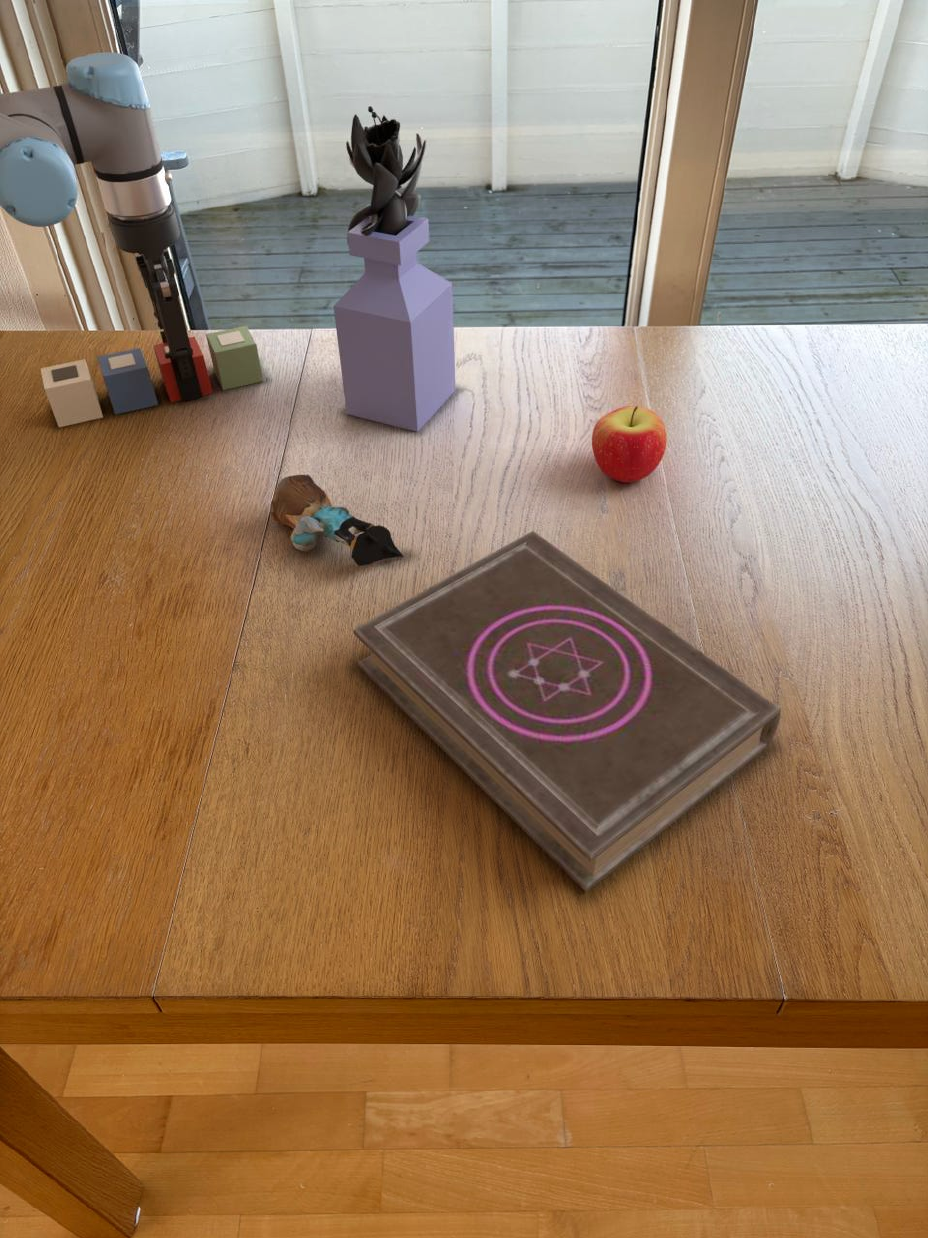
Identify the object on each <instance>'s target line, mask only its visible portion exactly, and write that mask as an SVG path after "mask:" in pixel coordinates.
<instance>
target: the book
mask: <svg viewBox="0 0 928 1238" xmlns="http://www.w3.org/2000/svg"><path fill="white" fill-rule="evenodd" d="M352 634H353V635H354V636H355V637H356V638H357V639H358V640H359V641H360V642H361V643H362V644H364V645H365V647H367V648H368V649H369V650H370V654H369V655H368V656H366V657H364V658H363V659H360V660H359V661H357V666H358V667H359V669H361V670H362V671H363V673H364V674H366V676H368V677H369V678H370V679H371V680H372V681H373V682H374V683H375V684H376V685H377V686H378V687H379V688H380V689H381V691H383V692H384V693H385V694H386V696H388V697H389V698H390V699H391V700H392V701H393V702H394V703H395V704H396V705H397V706H398V707H399V708H400V709H401V710H402V711H403V712H404V713H405V714H406V715H407V716H408V717H409V718H410V719H411V720H412V721H413V722H414V723H415V724H416V725H417V726H419V728H420V729H421V730H422V731H423V732H424V733H425V734H426V735H428V737H429V738H430V739H431V740H432V741H433V742H434V743H435V744H436V745H437V746H438V747H440V749H441V750H442V751H443V752H445V754H446V755H447V756H449V758H450V759H451V760H452V761H453V762H454V763H455V764H456V765H457V766H459V768H460V769H461V770H462V771H463V772H464V773H466V775H467V776H469V777H470V779H471V780H473V782H474V783H475V784H476V785H477V786H479V787H480V789H481V790H482V791H484V792H485V794H486V795H488V796H489V797H490V799H491V800H493V802H495V803H496V805H498V807H500V809H502V810H503V811H504V812H505V814H506V815H508V816H509V818H511V819H512V820H513V822H514V823H516V824H517V825H518V826H519V828H521V829H522V830H523V831H524V832H525V833H526V835H528V836H529V837H530V839H532V840H533V841H534V843H536V844H537V846H539V847H540V848H541V849H542V850H543V851H544V852H545V854H547V855H548V856H549V857H550V858H551V859H552V860H553V862H555V864H557V865H558V866H559V867H560V868H561V869H562V870H563V871H564V872H565V873H566V874H567V875H568V876H569V877H570V878H571V879H572V881H574V882H575V883H576V884H577V885H578V886H579V887H580V888H581V889H582V890H583V891H584V892H585V893H587V892H589V891H590V890H592V888H594V887H595V886H596V885H598V883H600V882H601V881H602V880H604V879H605V878H606V877H607V876H609V875H610V874H611V873H612V872H614V871H615V870H616V869H618V868H619V867H620V866H621V865H623V864H624V863H625V862H626V861H627V860H628V859H630V858H632V857H633V856H634V855H635V854H636V853H637V852H638V851H640V850H642V848H644V847H645V846H646V845H647V844H648V843H650V842H651V841H652V840H653V839H655V838H656V837H657V836H659V835H660V834H661V833H663V831H664V830H666V829H668V828H669V827H670V826H671V825H672V824H674V823H675V822H676V821H677V820H679V819H680V818H681V817H682V816H684V815H685V814H686V813H687V812H688V811H690V810H691V809H692V808H693V807H695V806H696V805H697V804H698V803H700V802H701V801H702V800H704V799H705V798H706V797H707V796H709V795H710V794H711V793H712V792H713V791H715V790H716V789H717V788H719V787H720V786H721V785H722V784H724V783H725V782H726V781H727V780H728V779H730V778H731V777H732V776H733V775H734V774H736V773H737V772H738V771H740V770H741V769H742V768H743V767H745V766H746V765H747V764H748V763H749V762H751V761H752V760H754V759H755V758H756V757H757V756H758V755H760V754H761V753H762V752H763V751H764V750H766V749H767V748H768V747H770V745H771V742H772V740H773V739H774V737H775V734H776V732H777V730H778V727H779V725H780V720H781V717H782V715H781V713H782V710H781V709H782V708H781V707H779V706H778V705H777V704H775V703H774V702H773V701H771V700H770V699H768V698H767V697H765V696H764V695H763V694H762V693H760V692H758V691H757V690H756V689H755V688H753V687H752V686H750V685H749V684H747V683H746V682H744V681H743V680H742V679H740V678H739V677H738V676H736V675H735V674H733V673H732V672H731V671H730V670H728V669H726V668H725V667H724V666H722V665H721V664H720V663H718V662H717V661H715V660H714V659H713V658H711V657H710V656H709V655H707V654H706V653H705V652H703V651H702V650H700V649H699V648H698V647H696V646H695V645H693V644H692V643H690V642H689V641H687V640H686V639H685V638H683V637H682V636H680V635H679V634H678V633H676V631H673V630H672V628H669V627H668V626H667V625H666V624H664V623H662V622H661V621H659V620H658V618H656V617H654V616H652V615H651V614H650V613H648V612H647V611H646V610H644V609H643V608H642V607H640V605H638V604H636V603H635V602H633V601H632V600H631V599H629V598H628V597H626V596H625V595H624V594H622V593H621V592H619V591H618V590H617V589H615V588H614V587H613V586H611V585H610V584H608V583H607V582H605V581H604V580H602V579H601V578H600V577H599V576H597V575H595V574H594V573H593V572H592V571H590V570H588V569H587V568H586V567H585V566H583V565H582V564H580V563H579V562H578V561H576V560H575V559H574V558H572V557H571V556H570V555H568V554H567V553H565V552H564V551H562V550H561V549H559V548H558V547H557V546H555V545H554V544H552V543H551V542H550V541H549V540H547V539H546V538H544V537H543V536H541V534H539V533H538V532H536V531H534V530H532V531H530V532H528V533H526V534H525V535H522V536H520V537H519V538H517V539H515V540H513V541H511V542H510V543H508V544H506V545H504V546H502V547H500V548H499V549H497V550H495V551H493V552H492V553H490V554H487V555H486V556H485V557H483V558H481V559H479V560H477V561H475V562H473V563H472V564H470V565H468V566H466V567H464V568H463V569H461V570H459V571H457V572H455V573H453V574H452V575H450V576H448V577H446V578H444V579H442V580H441V581H439V582H437V583H435V584H434V585H432V586H430V587H428V588H426V589H424V590H423V591H420V592H419V593H417V594H415V595H413V596H412V597H410V598H407V599H406V600H404V601H402V602H400V603H399V604H397V605H395V606H394V607H391V608H390V609H388V610H386V611H384V612H383V613H381V614H379V615H377V616H375V617H374V618H372V619H370V620H368V621H366V622H364V623H363V624H361V625H359V626H358V627H355V628H353V629H352Z"/></svg>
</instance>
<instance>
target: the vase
mask: <svg viewBox="0 0 928 1238" xmlns="http://www.w3.org/2000/svg"><path fill="white" fill-rule="evenodd" d="M367 108H368V109H367V111H368V113H370V114H371V118H372V119H373V122H374V124H373V125H371V126H369V127H368V126H367V125H366V126H363V125H362V123H361V120H360V119H359V118H360V117H359V116H358V115H357V114H356V113H355V114H354V116H353V118H352V124H351V130H350V131H351V132H350V133H351V134H350V143H349V140H347V141H346V143H345V147H346V151H347V154H348V156H349V157H348V158H349V159H348V161H349V164H350V165H351V167H352V168H353V169H354V170H355V172H356V174H357V175H358V176H359V177H360V178H361V179H362V180H363V181H364V182H366V183H368V184H370V185H372V193H371V194H372V195H371V200H370V203H369V204H368V205H366V206H364V207H362V208H361V209H359V210H357V212H355V214H354V215H353V216H352V218H351V220H350V222H349V224H348V226H347V227H348V229H347V233H346V238H347V239H346V243H347V245H348V251H349V252H348V253H349V256H351V257H356V258H362V259H363V263H364V271H365V272H364V273H363V274H362V275H361V277H359V279H358V280H356V281H355V283H354V284H353V285H352V286H351V287H350V288H349V289H348V290H347V291H346V292H345V293H344V294H343V295H342V296H341V298H340V299H338V301H336V303H335V304H334V305H333V314H334V322H335V323H334V324H335V328H336V337H337V346H338V347H337V348H338V354H339V360H340V361H339V362H340V369H341V378H342V384H343V395H344V402H345V403H344V404H345V410H346V411H345V412H346V415H349V416H354V417H357V418H360V419H361V418H362V419H365V420H369V421H373V422H377V423H381V424H385V425H389V426H392V427H397V428H400V429H404V430H408V431H411V432H417V433H418V432H419V431H420V430H422V428H423V427H424V426H425V425H426V424H427V422H429V420H430V419H431V418H432V417H433V416H434V415H435V414H436V413H437V411H438V410H439V409H440V408H441V407H443V405H444V404H445V403H446V401H447V400H449V398H450V397H451V396H452V395H453V394H454V392H456V390H457V389H456V388H457V387H456V359H455V358H456V356H455V355H456V354H455V327H454V326H455V325H454V295H453V294H454V293H453V283H452V282H451V281H449V280H447V279H446V278H444V277H442V276H441V275H439V274H437V273H436V272H434V271H433V270H431V269H430V268H427V267H426V266H424V265H422V264H421V263H419V261H418V260H419V259H418V252H419V251H421V249H422V248H423V247H425V245H427V244H428V243H429V242H430V225H429V224H430V223H429V218H427V217H422V216H421V217H420V216H416V212H417V210H418V209H419V207H420V203H421V198H422V197H421V194H418V193H415V191H416V189H417V187H418V184H419V181H420V177H421V174H422V170H423V166H424V165H423V164H424V156H425V152H426V149H427V140H426V139H424V141H422V137H421V136H420V134H419V133H416V134H415V139H416V146H414V147H413V149H412V152H411V155H410V156H409V159H408V161H407V163H406V164H405V166H404V156H403V150H402V147H401V144H400V141H401V123H400V121H397V120H396V118H394V119H393V118H392V119H390V120H389V119H388V118H387V116H385V114H383V116H382V117H380V116H379V115H378V114H377V112H376V111H374V108H373V107H372V106H368V107H367ZM376 118H377V119H378V122H379V123H378V124H377V123H376ZM405 184H406V185H405ZM402 185H405V187H404V188H403V186H402ZM401 188H403V190H402V192H401V194H400V192H399V191H397V190H400V189H401Z"/></svg>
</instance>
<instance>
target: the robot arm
mask: <svg viewBox="0 0 928 1238" xmlns="http://www.w3.org/2000/svg"><path fill="white" fill-rule="evenodd" d="M65 73H66V78H65V80H66V83H61V84H60V85H54V86H49V87H41V88H34V89H26V90H19V91H12V92H11V91H10V92H4V93H0V207H1V208H2V210H4V211H5V213H7V214H8V215H9V216H10V217H12V218H13V219H14V220H16V221H17V222H19V223H22V224H24V225H26V226H30V227H34V228H35V227H36V228H45V227H52V226H54V225H57V224H60V223H61V222H62V221H64V220H65V219H66V218H68V217H69V215H70V214H71V213H72V211H73V210H74V209H75V206H76V204H77V201H78V181H77V180H78V177H77V174H76V173H77V171H76V170H77V169H76V168H75V166H76V165H81V164H85V163H90V162H91V163H92V165H93V170H94V173H95V174H94V176H95V179H96V182H97V185H98V189H99V193H100V196H101V201H102V202H103V206H104V210H105V212H106V213H108V214H109V215H108V222H109V225H110V229H111V232H112V235H113V240H114V242H115V245H116V246H117V248H118V249H120V250H121V251H122V252H124V253H125V252H126V253H128V254H138V255H137V256H134V259H135V262H136V263H135V264H136V265H137V266H136V267H137V268H138V271H139V272H140V276H141V278H142V282H143V284H144V286H145V289H146V290H147V292H148V296H149V299H150V300H151V305H152V308H153V316H154V317H155V318H156V320H157V326H158V328H159V330H161V331H159V333H160V338H161V340H162V343H168V347H169V352H167V353H164V355H165V358H166V359H168V358H170V360H171V364H172V367H173V371H174V375H175V378H176V382H177V386H178V389H179V393H180V397H181V400H180V401H181V402H185V401H190V400H194V399H199V398H202V397H204V395H202V392H201V388H200V384H199V380H198V376H197V372H196V368H195V364H194V360H193V356H192V355H193V349H192V348H191V345H190V341H189V338H190V337H189V334H188V330H187V326H186V322H185V317H184V314H183V310H182V307H181V303H180V300H179V297H180V291H179V288H178V284H177V281H176V277H175V274H176V268H175V265H174V261H173V258H171V256H170V254H169V251H168V250H167V249H169V248H172V247H173V246H175V245H176V244H177V243H178V242H179V240H180V238H181V231H180V225H179V223H178V219H177V214H176V210H175V207H174V206H173V205H172V204H171V203H172V195H171V191H170V187H169V185H168V184H167V183H170V182H172V181H173V176H172V174H171V172H166V171H165V167H164V162H163V157H162V153H161V149H160V144H159V139H158V135H157V134H158V133H157V130H156V126H155V122H154V117H153V113H152V109H151V102H150V101H149V98H148V93H147V91H146V87H145V85H144V80H143V77H142V73H141V70H140V67H139V65H138V63H137V62H136V61H135V60H134V59H133V58H132V57H130V56H128V55H126V54H124V53H120V52H108V51H107V52H95V53H88V54H86V55H83V56H77V57H75V58H73V59H71V60H70V61H68V62H67V64H66V66H65Z"/></svg>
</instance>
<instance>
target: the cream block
mask: <svg viewBox="0 0 928 1238" xmlns="http://www.w3.org/2000/svg"><path fill="white" fill-rule="evenodd" d="M40 373H41V378H42V384H43V390H44V392H45V395H46V398H47V400H48V403H49V406H50V408H51V410H52V413H53V416H54V419H55V421H56V424H57V427H58V428H63V427H68V426H72V425H76V424H81V423H84V422H89V421H94V420H99V419H102V418H104V415H103V412H102V408H101V404H100V399H99V396H98V393H97V391H96V388H95V385H94V382H93V379H92V376H91V373H90V370H89V367H88V364H87V361H86V359H80V360H79V359H78V360H74V361H69V362H64V363H60V364H56V365H51V366H46V367H45V366H44V367H41V368H40Z"/></svg>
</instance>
